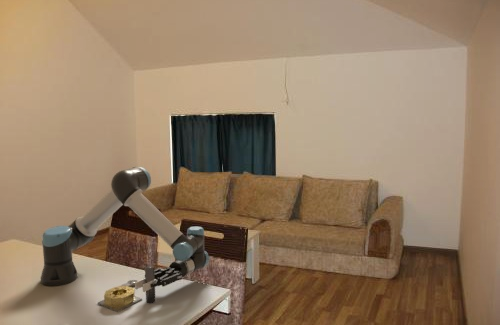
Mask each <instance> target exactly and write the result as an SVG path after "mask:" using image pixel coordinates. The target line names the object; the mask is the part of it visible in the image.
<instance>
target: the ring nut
mask: <svg viewBox="0 0 500 325" xmlns="http://www.w3.org/2000/svg"><path fill="white" fill-rule="evenodd" d="M120 286H121V285H120ZM104 292H105V293H104V294H103V295H104V296H103V298H104V299H102V300H99V301H98V302H97V305H98V306H101V307H104V308H107V309H109V310H111V311H114V312H116V313H118V312H120V311H123V310H125V309H126V308H128V307H131V306H132V305H135V304H136V303H139V302H140V301H143V297H142V298H141V297H139V296H136V294H135V293H136V292H135V287H128V286H121V287H118V286H114V287H112V288H109V289H107V290H105V291H104Z"/></svg>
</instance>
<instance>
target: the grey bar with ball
mask: <svg viewBox="0 0 500 325" xmlns="http://www.w3.org/2000/svg"><path fill="white" fill-rule="evenodd" d="M137 281H138V280H137V279H132V280H128V281H127V282H126V283H123V284H121V285H119V286H117V287H121V286H128V287H131V288H135V282H137Z"/></svg>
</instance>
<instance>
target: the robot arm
mask: <svg viewBox="0 0 500 325" xmlns="http://www.w3.org/2000/svg"><path fill="white" fill-rule="evenodd" d="M110 183H111V184H110V185H111V187H110V188H111V190H110V191H109V192H108V193H106V194H105V195H104V196H103V197H102V198H101V199H100V200H99V201H98V202H97V203H96V204H95V205H94V206H93V207H92V208H91V209H89V211H88V212H87V213H86V214H84V215H83V216H79V217H77V218H76V219H75V220H74V221H73V222H72V223H70V224H69V225H57V226H55V227H50V228H48V229H46V230H45V231H44V232H43V233H42V240H41V242H42V253H43V255H42V256H43V268H42V270H41V276H40V284H41V285H43V286H46V287H47V286H48V287H54V286H56V287H57V286H62V285H67V284H69V283H73V282H74V281H76V280H77V279H78V270H77V268H76V265H75V264H74V261H73V252H74V251H76V250H78V249H79V248H82V247H84V246H86V245H89V243H91V242H92V241H93V239H94V238H95V235H97V233H98V229H99V227H100V226H101V225H103V224H104V223H105V222H106V221H108V219H110V217H112V216H113V214H114V213H116V212H117V211H118V210H119V209H120V208H121V207H122V206H124V207H129V208H130V209H131V210H132V211H133V213H135V214H136V215H137V216H138V217H139V218H140V219H141V220H142V221H143V222H144V223H145V224H146V225H147V226H148V227H149V228H150V229H151V230H152V231H153V232H154V233H155V234H156V235H158V236H159V237H160V239H162V240H163V241H164V242H165V243H166V244H167V245H168V246H169V247H170V248H171V249H172V255H173V257H174V259H175V261H173V262H171V263H170V265H169V267H168V266H167V267H165V268H162V267H161V266H160V267H159V266H158V267H157V268H155V269H154V272H155V279H154V280H152V281H150V282H148V283H145V277H143V278H141V279H139V280H137V282H135V286H134V290H138V289H140V288H142V292H143V293H146V291H147V290H149V289H151V288H154V287H155V288H156V287H160V286H161V287H166V286H168V285H170V284H173V283H175V282H177V281H182V280H183V278H184V277H185V276H189V275H190V274H192V273H193V272H194V273H195V272H196V271H198V270H200V269H201V270H202V269H203V268H204V267H206V266H208V264H209V262H210V256H209V253H208V252H207V251H206V250H205V230H204V228H203V227H202V226H190V227H188V228H187V231H186V235H185V234H184V233H183V232H182V231H180V230H179V228H178V227H177V226H175V224H173V222H172V221H171V220H169V219H168V218H167V217H166V216H165V215H164V214H163V213H162V212H161V211H160V210H159V209H158V208H157V207H156V206H155V204H153V203H152V202H151V201H150V200H149V199H148V198H147V197H146V196H145V195H144V194H143V193H142V192H145V191H147V190H148V189H149V188H150V186H151V183H152V177H151V174H150V173H149V171H148V170H147V169H145V168H144V167H141V166H135V167H132V168H127V169H124V170H119V171H118V172H117V173H115V174H114V176H113V177H112V179H111V182H110Z"/></svg>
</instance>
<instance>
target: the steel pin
mask: <svg viewBox="0 0 500 325" xmlns="http://www.w3.org/2000/svg"><path fill="white" fill-rule="evenodd" d="M154 270H155V266H152V265H148V266H145V267H144V278H145V283H148V282H150V281H152V280H154V279H155V272H154ZM155 302H156V287H154V288H151V289H149V290H147V291H145V303H146V304H148V305H149V304H154V303H155Z"/></svg>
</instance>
